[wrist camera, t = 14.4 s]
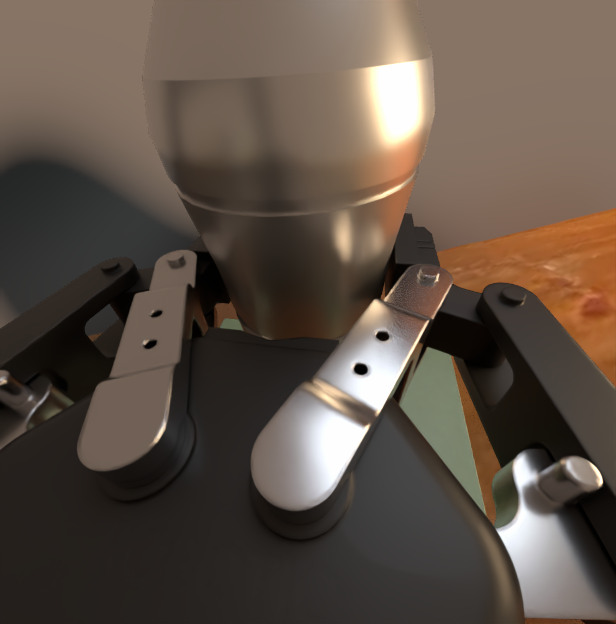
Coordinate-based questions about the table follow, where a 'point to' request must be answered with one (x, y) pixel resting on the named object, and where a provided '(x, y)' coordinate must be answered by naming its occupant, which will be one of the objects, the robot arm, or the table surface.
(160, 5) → the silver metal bottle
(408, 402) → the riser
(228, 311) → the table surface
